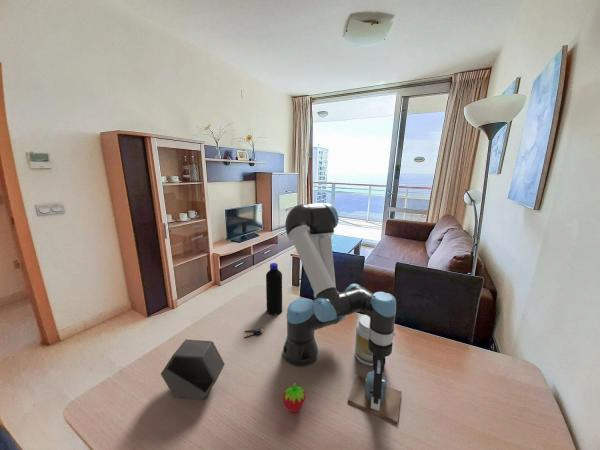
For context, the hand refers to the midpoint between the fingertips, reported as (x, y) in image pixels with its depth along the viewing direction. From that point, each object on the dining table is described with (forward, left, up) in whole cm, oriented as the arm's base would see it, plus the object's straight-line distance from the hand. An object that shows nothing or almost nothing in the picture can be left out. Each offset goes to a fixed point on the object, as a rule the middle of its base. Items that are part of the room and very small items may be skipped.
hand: (375, 395), depth 84 cm
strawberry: (-23, -17, -2) cm, 29 cm away
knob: (0, 0, 0) cm, 0 cm away
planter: (-58, -27, -2) cm, 64 cm away
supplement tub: (-6, +19, -2) cm, 20 cm away
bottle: (-61, +29, -2) cm, 68 cm away
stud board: (0, 0, -1) cm, 1 cm away
